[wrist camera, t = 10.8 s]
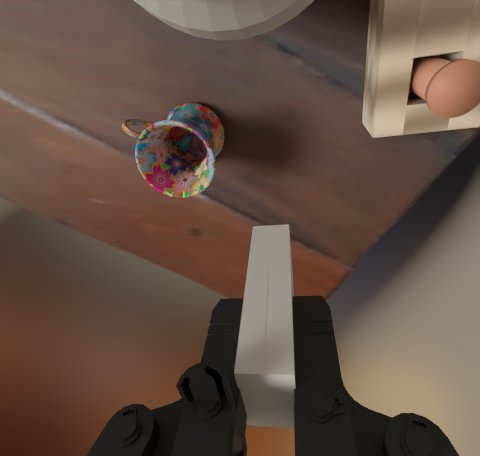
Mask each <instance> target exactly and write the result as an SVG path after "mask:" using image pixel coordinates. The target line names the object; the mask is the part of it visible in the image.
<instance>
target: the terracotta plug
mask: <svg viewBox="0 0 480 456" xmlns="http://www.w3.org/2000/svg"><path fill="white" fill-rule="evenodd" d="M409 90H410V91H411V92H413V93H415V94H416V95H418V96H419V97H421V98H423V99H424V100H426V104H427V106H428V108H429V109H430V110H431V111H432V112H433V113H435V114H436V115H438V116H440V117H443V118H455V117H459V116H462V115H464V114H466V113H468V112H470V111H471V110H472V109H474V108H475V107H476V106H477V105H478V104H479V103H480V62H477V61H474V60H470V59H459V60H455V61H449V60H446V59H442V58H439V57H435V56H432V55H431V56H424V57H418V58H416V59H414V60H413V65H412V72H411V79H410V86H409Z"/></svg>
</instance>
